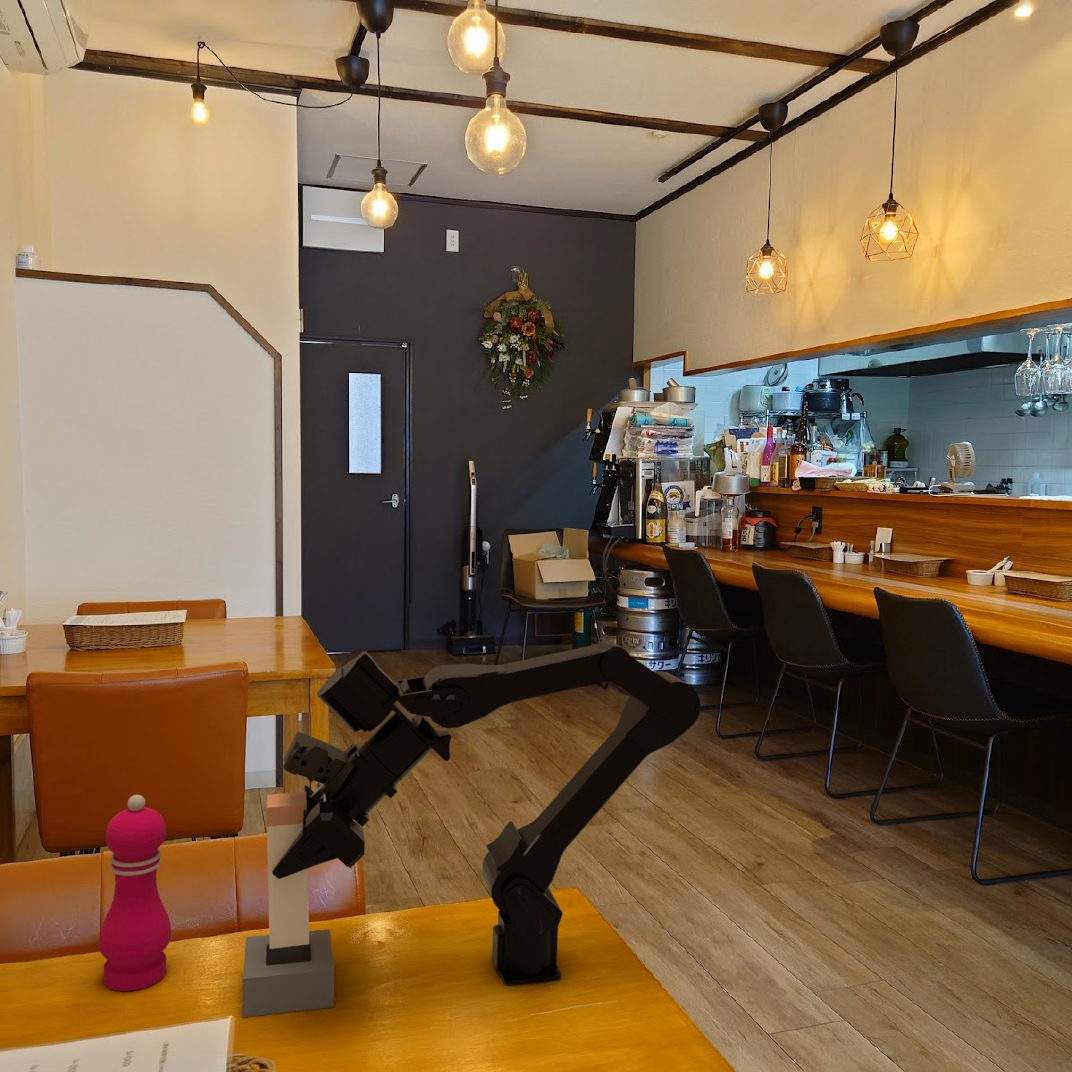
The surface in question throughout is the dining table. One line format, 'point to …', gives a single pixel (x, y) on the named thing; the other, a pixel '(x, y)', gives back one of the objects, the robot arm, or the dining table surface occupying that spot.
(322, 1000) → the socket block
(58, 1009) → the dining table surface
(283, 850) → the plug
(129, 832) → the pepper mill
